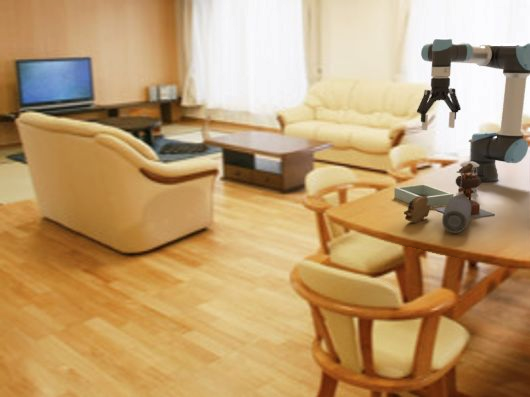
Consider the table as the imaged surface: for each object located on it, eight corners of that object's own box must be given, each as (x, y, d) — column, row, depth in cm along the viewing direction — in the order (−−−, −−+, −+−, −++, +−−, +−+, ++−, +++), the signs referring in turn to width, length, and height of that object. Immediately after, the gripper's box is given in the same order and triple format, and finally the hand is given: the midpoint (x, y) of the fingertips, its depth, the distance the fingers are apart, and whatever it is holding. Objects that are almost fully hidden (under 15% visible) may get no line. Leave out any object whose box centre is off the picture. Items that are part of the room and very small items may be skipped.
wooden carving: (420, 215, 230) (421, 191, 227) (431, 217, 227) (432, 192, 224) (401, 225, 217) (401, 200, 215) (412, 228, 215) (413, 201, 212)
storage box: (423, 193, 262) (424, 183, 261) (452, 204, 244) (453, 194, 243) (394, 197, 257) (394, 187, 256) (421, 208, 239) (422, 198, 238)
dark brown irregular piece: (475, 218, 223) (474, 166, 219) (446, 216, 229) (445, 166, 225) (486, 208, 235) (485, 159, 231) (458, 207, 241) (457, 159, 237)
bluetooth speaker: (446, 217, 226) (447, 192, 224) (471, 219, 223) (473, 194, 220) (439, 235, 206) (441, 207, 203) (467, 237, 202) (469, 210, 200)
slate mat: (467, 205, 242) (467, 204, 242) (494, 215, 227) (494, 213, 227) (435, 209, 237) (435, 208, 236) (461, 220, 222) (461, 219, 222)
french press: (452, 195, 258) (455, 139, 252) (463, 190, 266) (466, 136, 260) (473, 199, 251) (477, 141, 245) (484, 193, 260) (488, 138, 253)
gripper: (420, 79, 232) (418, 132, 237) (471, 76, 240) (468, 127, 246) (409, 78, 239) (407, 129, 244) (459, 75, 247) (456, 125, 252)
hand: (438, 128), depth 245 cm, fingers open, 13 cm apart
